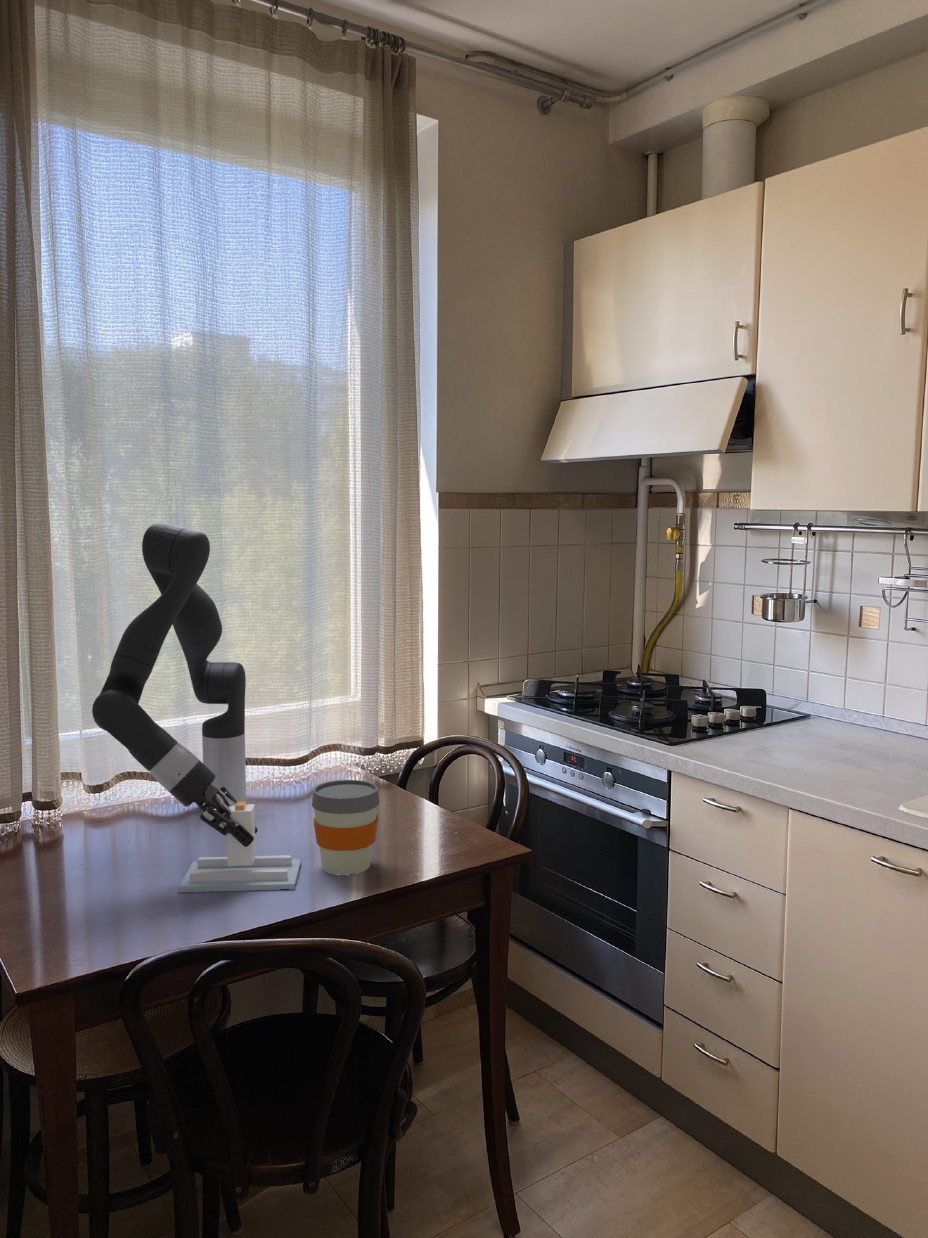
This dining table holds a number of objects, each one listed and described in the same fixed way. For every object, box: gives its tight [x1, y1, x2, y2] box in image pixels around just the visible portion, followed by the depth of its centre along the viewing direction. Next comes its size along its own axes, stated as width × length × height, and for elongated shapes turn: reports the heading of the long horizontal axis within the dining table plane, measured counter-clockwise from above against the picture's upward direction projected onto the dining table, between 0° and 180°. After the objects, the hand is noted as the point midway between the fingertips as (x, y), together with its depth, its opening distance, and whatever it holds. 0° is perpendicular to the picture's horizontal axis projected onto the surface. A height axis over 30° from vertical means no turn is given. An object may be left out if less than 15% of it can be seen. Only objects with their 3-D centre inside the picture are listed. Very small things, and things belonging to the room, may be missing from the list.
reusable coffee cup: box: [311, 779, 380, 876], centre depth 172 cm, size 12×13×15 cm
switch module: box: [226, 801, 257, 866], centre depth 167 cm, size 4×4×11 cm
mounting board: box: [178, 854, 302, 893], centre depth 167 cm, size 20×12×2 cm, turn 95°
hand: (252, 838), depth 167 cm, fingers closed on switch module, 4 cm apart
